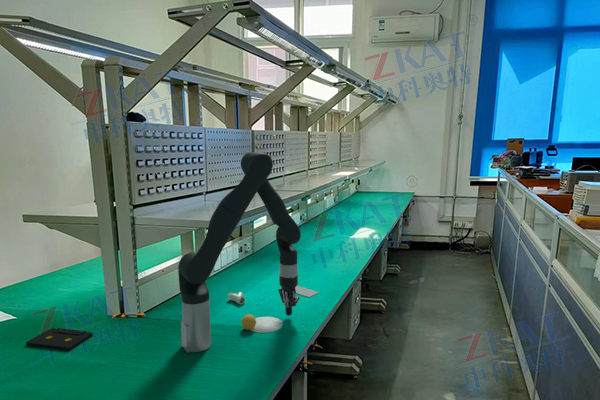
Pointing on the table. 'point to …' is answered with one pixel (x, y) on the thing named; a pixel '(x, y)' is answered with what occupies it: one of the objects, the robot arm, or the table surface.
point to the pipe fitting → (237, 297)
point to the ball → (248, 322)
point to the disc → (267, 325)
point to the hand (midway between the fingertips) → (288, 314)
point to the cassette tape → (60, 339)
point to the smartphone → (305, 292)
